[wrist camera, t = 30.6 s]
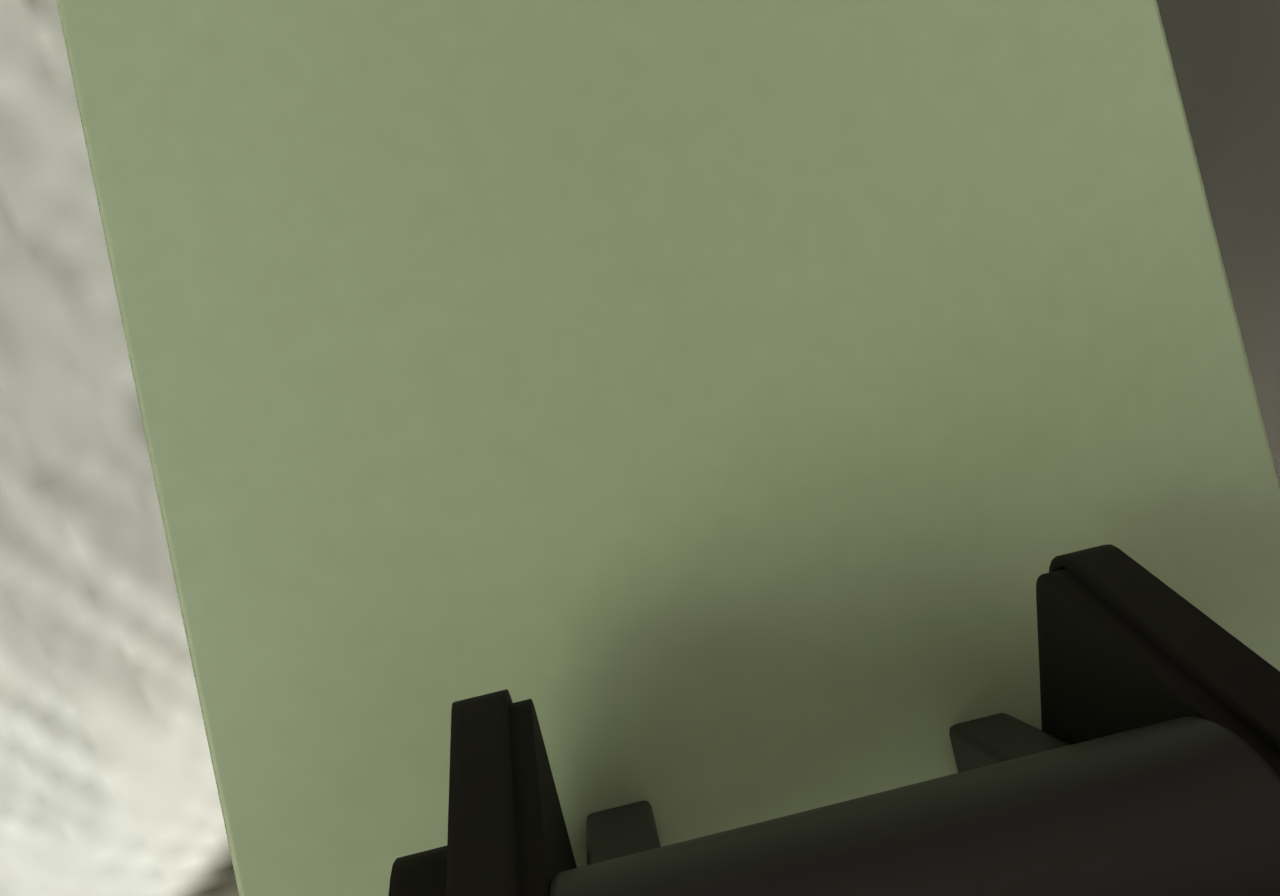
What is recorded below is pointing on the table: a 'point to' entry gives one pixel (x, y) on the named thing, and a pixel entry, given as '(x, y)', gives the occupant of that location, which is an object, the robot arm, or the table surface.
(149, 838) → the table surface
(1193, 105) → the table surface
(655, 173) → the box lid
